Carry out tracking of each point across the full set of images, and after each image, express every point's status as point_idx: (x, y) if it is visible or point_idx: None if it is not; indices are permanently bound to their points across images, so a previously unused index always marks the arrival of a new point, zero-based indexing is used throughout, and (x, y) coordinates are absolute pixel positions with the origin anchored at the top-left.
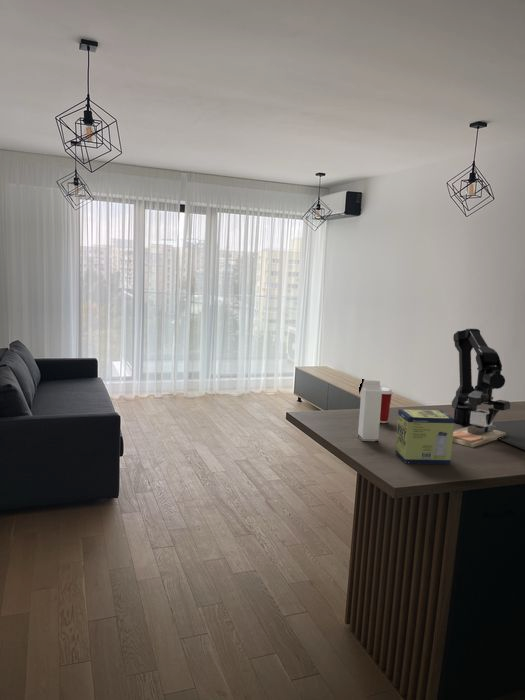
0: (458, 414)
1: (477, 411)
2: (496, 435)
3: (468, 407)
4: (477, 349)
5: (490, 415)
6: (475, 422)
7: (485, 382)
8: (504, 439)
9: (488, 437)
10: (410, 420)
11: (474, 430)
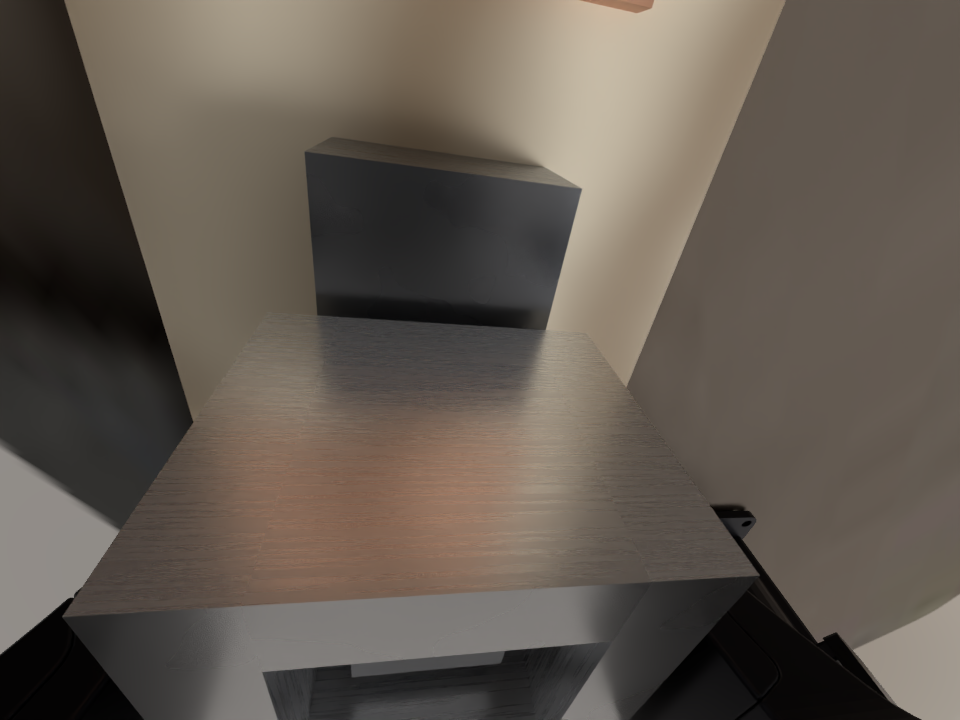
0: (753, 592)
1: (567, 673)
2: (183, 367)
3: (890, 711)
4: None
5: (48, 663)
6: (485, 352)
7: None
8: (161, 411)
9: (137, 133)
10: None
11: (423, 157)
